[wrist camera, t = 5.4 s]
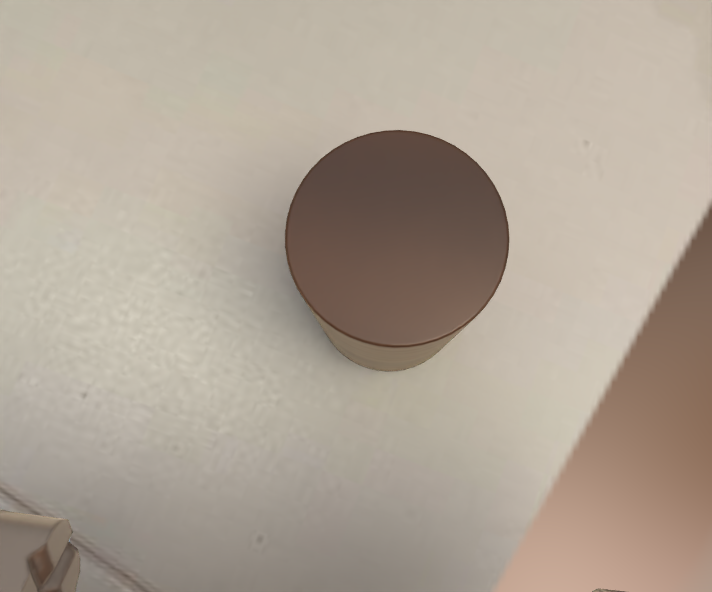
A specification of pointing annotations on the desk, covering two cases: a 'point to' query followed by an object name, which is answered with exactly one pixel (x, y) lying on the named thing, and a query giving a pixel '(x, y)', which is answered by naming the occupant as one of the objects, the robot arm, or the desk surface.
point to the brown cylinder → (396, 246)
